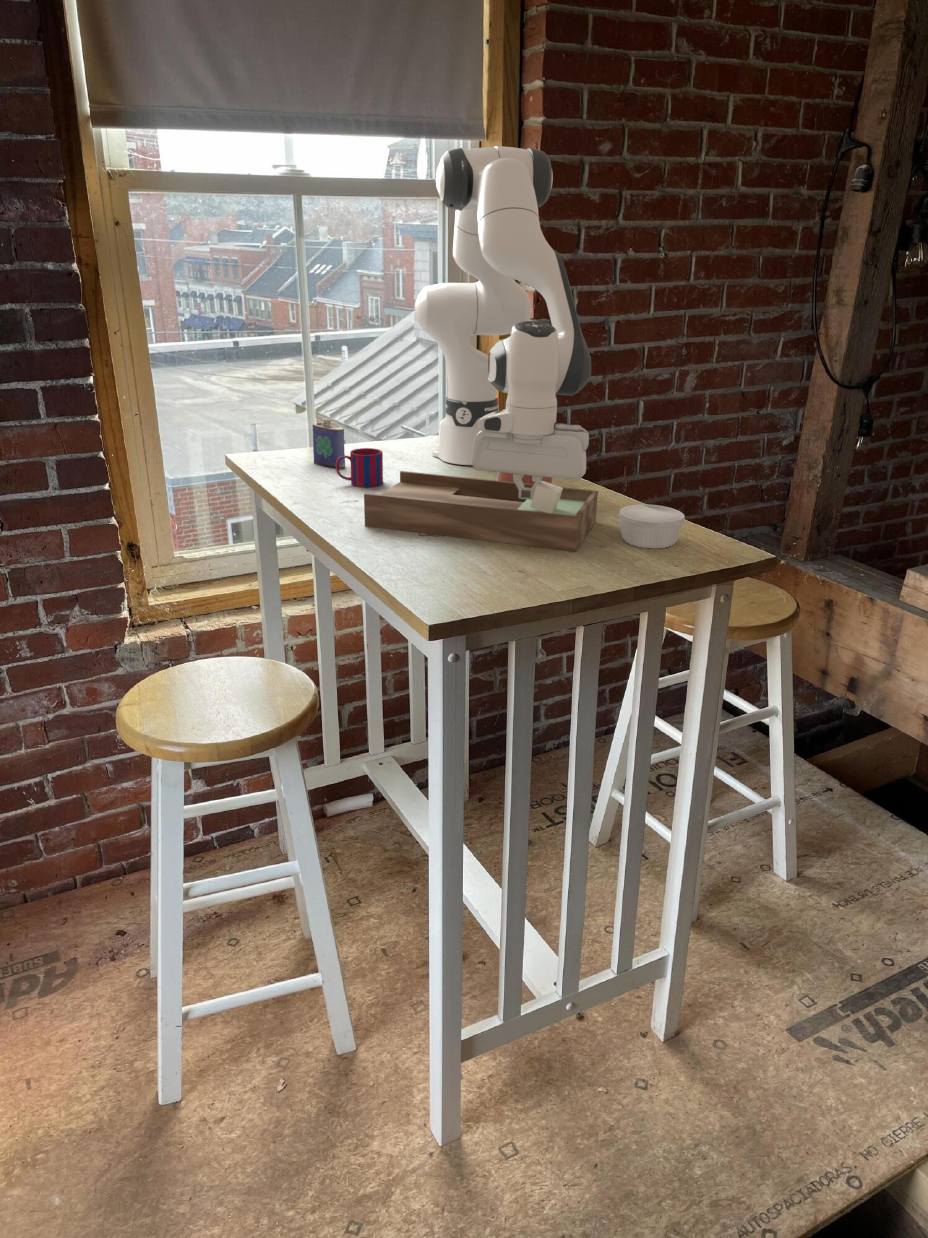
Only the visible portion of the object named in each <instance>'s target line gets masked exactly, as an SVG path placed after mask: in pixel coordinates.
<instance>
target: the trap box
mask: <svg viewBox="0 0 928 1238" xmlns="http://www.w3.org/2000/svg"><path fill="white" fill-rule="evenodd" d="M523 484H524V486H525V487H526V488H532V486H533V485H534V484H526V483H523ZM560 487H561V488H563V490H562V493H561V496H560V499H559V502H558V505H557V509H556V510H555V511H554V512H553V513H545V512H543V511H540V510H537V509H534V508H532V507H530V506H531V503H532V500H528V499H519V497H518V496H519V489H518V488H517V486H516V484H515V482H506V481H497V479H494V480H493V479H486V478H485V479H484V478H474V477H468V476H467V477H466V476H465V477H464V476H456V475H443V474H436V473H426V472H416V471H407V470H400V471H399V482H397V483H395V484H394V485H393V486H391V487H390V488H388V489H387V490H385V491H384V492H382V493H369V492H365V493H363V502H364V503H363V504H364V505H363V506H364V507H363V508H364V510H363V511H364V513H363V514H364V527H369V528H377V529H378V528H379V529H388V530H394V531H395V530H396V531H401V532H410V533H419V534H428V535H435V536H436V535H437V536H444V537H445V536H446V537H453V538H459V539H460V538H462V539H468V540H478V541H483V542H484V541H485V542H493V543H501V544H509V545H510V544H512V545H519V546H528V547H535V548H536V547H537V548H545V549H550V550H560V551H568V552H574V553H575V552H577V551H578V549H579V547H580V546H581V545H582V543H583V541H584V540H585V538H586V537H587V536H588V534H589V532H590V531H591V529H592V528H593V527H594V525H595V523H596V519H597V510H598V509H597V506H598V495H599V491H598V490H593V489H592V490H591V489H584V488H583V489H582V488H575V487H574V488H573V487H565V486H564V487H562V486H560Z"/></svg>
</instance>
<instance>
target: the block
mask: <svg viewBox="0 0 928 1238" xmlns="http://www.w3.org/2000/svg"><path fill="white" fill-rule="evenodd" d="M561 487H562V486H558V485H556V484H552V483H551V484H550V483H547V482H544V481H541V482H540V483H539V484H538V485H537V486H536V489H535V493H534V496H533V499H532V503H531V506H530V507H532V508H534V509H537V510H540V511H543V512H545V513H553V512H554V511H555V510H556V509H557V505H558V502H559V499H560V496H561V493H562V490H563V488H561Z"/></svg>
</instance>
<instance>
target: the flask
mask: <svg viewBox="0 0 928 1238" xmlns="http://www.w3.org/2000/svg"><path fill="white" fill-rule="evenodd" d="M321 419H322V421H320V422H316V423H315V422H314V423H313V424H312V444H313V446H312V448H313V451H312V452H313V453H312V454H313V464H314V465H317V466H320V467H326V468H330V469H336V461H337V459H338V458H339V457H340V456H346V453H345V428H344V427H338V426H334V425H333V426H332V425H331V421H332V419H331V418H330V417H329V418H327V417H324V418H321ZM338 467H339V470H343V469H346V458H342V459H341V460H340V462H339V466H338Z"/></svg>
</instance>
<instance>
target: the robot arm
mask: <svg viewBox="0 0 928 1238" xmlns="http://www.w3.org/2000/svg"><path fill="white" fill-rule="evenodd" d="M435 175H436V177H435V183H436V190H437V192H438V196H439V199H440V201H441V203H442V204H443V205H444V206H445V207H446V208H449V209H451V210H454V211H455V215H454V226H453V227H454V228H453V240H452V243H453V245H452V257H453V260H454V262H455V264H456V265H457V266H458V267H459V269H461V270H462V271H463V272H464V273H466V274H468V275H469V276H472V277H474V278H475V279H477V280H478V281H476V282H440V283H437V284H436V283H435V284H432V285H425V286H424V287H423V288H422V290H420V292H419V294H418V295H417V298H416V300H415V303H414V304H415V306H414V312H415V318H416V320H417V323H418V324H419V327H421V328H422V330H424V331H425V332H426V333H427V334H428V335H429V336H430V337H432V338H433V340H434V341H435V342H436V344H437V345H438V346H439V348H440V350H441V352H442V355H443V357H444V360H445V366H446V374H447V375H446V377H447V397H445V404H444V405H445V406H444V407H445V414H446V415H445V416H444V418H442V420H441V421H440V422H439V428H438V429H439V431H438V432H439V433H438V443H437V444H438V446H437V447H438V448H437V449H435V450H433V451H432V457H435V458H439V460H441V461H443V462H445V463H449V464H454V465H463V466H472V467H474V469H475V470H476V471H483V472H494V473H497V472H502V473H512V474H513V480H514V482H515V484H516V486H517V488H518V489H519V496H518V497H519V499H528V500H532V499H533V496H534V493H535V489H536V486H537V485H538V484H539V483H540V482H541V481H542V480H543V477H552V478H554V479H561V480H562V479H564V480H574V481H575V480H576V481H579V480H580V479H581V478H582V477H583V476H584V475H585V474H586V471H587V451H586V450H587V449H588V448H589V445H590V444H589V442H590V435H589V432H588V431H587V429H585V428H584V427H582V426H581V425H580V424H567V423H562V422H561V423H560V422H557V412H558V411H557V409H558V400H557V395H561V396H574V395H576V394H577V393H579V392H580V391H581V390H582V389H584V388H585V386H586V385H587V384H588V382H589V381H590V379H591V377H592V358H591V353H590V350H589V347H588V344H587V342H586V339H585V338H584V335H583V332H582V328H581V324H580V321H579V316H578V313H577V309H576V305H575V302H574V297H573V293H572V289H571V285H570V281H569V278H568V274H567V270H566V268H565V264H564V261H563V259H562V256H561V254H560V253H559V252H558V251H557V250H556V249H553V248H552V246H550V244H549V243H548V241H547V240H546V238H545V236H544V234H543V231H542V228H541V225H540V216H539V209H538V208H541V207H542V206H543V205H545V203H547V201H548V200H549V199H550V198H549V197H550V194H551V190H552V187H553V181H554V180H553V179H554V177H553V168H552V163H551V160H550V158H549V157H548V155H547V154H546V152H545V151H543V150H541V149H536V148H533V147H528V148H527V149H526V148H519V147H514V146H513V147H512V146H497V145H496V146H494V147H493V146H491V147H475V148H468V149H466V148H465V149H463V148H462V147H458V148H454V149H449V150H447V151H446V152H444V153H443V155H442V156H441V157H440V161H439V164H438V166H437V170H436V174H435ZM516 281H518V282H520V283H523V284H525V285H527V286H529V287H530V288H533V289H535V291H537V292H538V293H539V294H540V295H541V296H542V297H543V299H544V300H545V303H546V307H547V310H548V315H549V318H550V322H551V324H550V323H547V322H542V321H537V320H531V317H532V310H533V309H532V301H531V297H530V296H529V293H528V292H527V290H526V289H525V288H524V287H523V286H522V285H520V284H518V282H516ZM505 335H510V336H508V337H507V338H503V339H499V340H498V341H497V342H496V343H495V344H494V345H493V346H492V347H491V349H490V350H489V351H488V354H487V353H484V352H483V351H480V350H479V349H477V348H476V347H475V348H474V347H473V345H472V344H471V337H473V336H505ZM497 392H501V393H504V394H507V397H506V401H505V408H504V409H499V405H500V397H499V396H497ZM524 475H532V481H533V482H535V483H534V485H533V486H532V488H526V487H525V486H524V484H523V482H522V480H521V479H522V478H523V477H524Z"/></svg>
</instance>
